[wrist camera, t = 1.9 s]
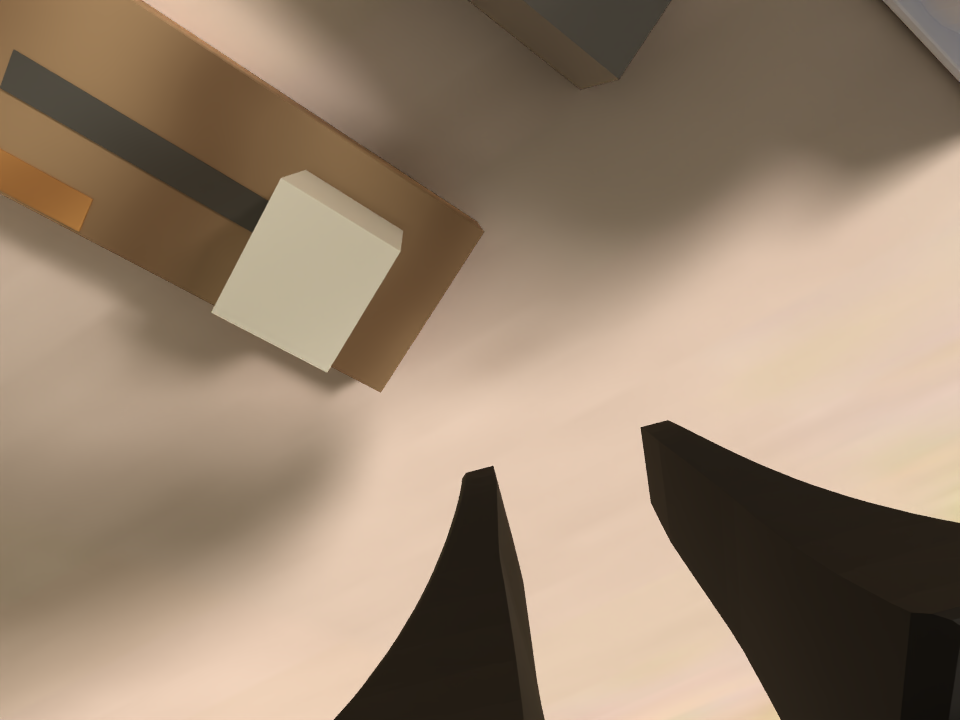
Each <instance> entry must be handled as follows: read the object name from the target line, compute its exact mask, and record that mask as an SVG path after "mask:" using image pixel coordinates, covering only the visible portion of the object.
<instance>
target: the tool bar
mask: <svg viewBox="0 0 960 720" xmlns="http://www.w3.org/2000/svg"><path fill="white" fill-rule="evenodd" d="M468 1H470V2H471V3H472V4H473V5H475V6H476V7H477V8H478V9H480V10H481V11H482V12H483V13H485V14H486V15H487V16H488V17H490V18H491V19H492V20H493V21H495V22H496V23H497V24H499V25H500V26H501V27H502V28H504V29H505V30H506V31H507V32H509V33H510V34H511V35H512V36H514V37H515V38H516V39H517V40H519V41H520V42H521V43H522V44H524V45H525V46H526V47H528V48H529V49H530V50H531V51H533V52H534V53H535V54H536V55H538V56H539V57H540V58H541V59H543V60H544V61H545V62H546V63H548V64H549V65H550V66H551V67H553V68H554V69H555V70H557V71H558V72H559V73H560V74H562V75H563V76H564V77H565V78H567V79H568V80H569V81H570V82H572V83H573V84H574V85H575V86H577V87H578V88H579V89H584V88H588V87H592V86H596V85H600V84H603V83H607V82H611V81H615V80H619V79H620V77H621V76H622V74H623V73H624V71H625V70H626V68H627V67H628V65H629V64H630V62H631V61H632V59H633V58H634V56H635V55H636V53H637V52H638V50H639V49H640V47H641V46H642V44H643V43H644V41H645V40H646V38H647V37H648V35H649V33H650V32H651V30H652V29H653V27H654V26H655V24H656V23H657V21H658V20H659V18H660V17H661V15H662V14H663V12H664V11H665V9H666V8H667V6H668V5H669V3H670V2H671V0H468Z"/></svg>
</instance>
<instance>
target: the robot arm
mask: <svg viewBox="0 0 960 720" xmlns="http://www.w3.org/2000/svg"><path fill="white" fill-rule="evenodd" d="M883 1H884V2H885V3H886V4H887V5H888V6H889V8H890V9H891V10H892V11H893V12H894V13H895V14H896V15H897V16H898V17H899V18H900V19H901V20H902V21H903V22H904V24H905V25H906V26H907V27H908V28H909V29H910V30H911V31H912V32H913V33H914V34H915V35H916V36H917V37H918V38H919V40H920V41H921V42H922V43H923V44H924V45H925V46H926V47H927V48H928V49H929V50H930V51H931V52H932V53H933V54H934V55H935V57H936V58H937V59H938V60H939V61H940V62H941V63H942V64H943V65H944V66H945V67H946V68H947V69H948V70H949V71H950V73H951V74H952V75H953V76H954V77H955V78H956V79H957V80H958V81H959V82H960V0H883ZM641 434H642V441H643V448H644V456H645V463H646V470H647V477H648V485H649V492H650V499H651V504H652V506H653V508H654V510H655V512H656V514H657V516H658V518H659V520H660V522H661V524H662V526H663V528H664V530H665V532H666V534H667V536H668V537H669V539H670V541H671V543H672V545H673V546H674V548H675V549H676V551H677V552H678V554H679V555H680V557H681V558H682V560H683V561H684V562H685V564H686V565H687V567H688V568H689V570H690V571H691V573H692V574H693V576H694V577H695V579H696V580H697V582H698V583H699V585H700V586H701V588H702V589H703V590H704V592H705V593H706V595H707V596H708V598H709V599H710V601H711V602H712V604H713V605H714V607H715V608H716V609H717V611H718V612H719V614H720V615H721V617H722V618H723V620H724V621H725V623H726V624H727V626H728V627H729V629H730V630H731V632H732V633H733V635H734V636H735V638H736V640H737V641H738V643H739V644H740V646H741V648H742V649H743V651H744V653H745V655H746V656H747V658H748V660H749V662H750V664H751V665H752V667H753V669H754V671H755V673H756V675H757V676H758V678H759V680H760V682H761V684H762V685H763V687H764V689H765V691H766V693H767V695H768V696H769V698H770V700H771V702H772V704H773V706H774V708H775V710H776V711H777V713H778V715H779V717H780V719H781V720H960V523H957V522H951V521H946V520H941V519H936V518H931V517H927V516H922V515H917V514H913V513H909V512H905V511H901V510H897V509H893V508H889V507H885V506H881V505H877V504H873V503H869V502H865V501H862V500H858V499H855V498H851V497H848V496H845V495H842V494H839V493H836V492H832V491H829V490H826V489H823V488H820V487H817V486H814V485H811V484H808V483H806V482H803V481H800V480H797V479H795V478H792V477H790V476H787V475H785V474H782V473H780V472H777V471H775V470H772V469H770V468H767V467H765V466H763V465H760V464H758V463H756V462H753V461H751V460H749V459H747V458H745V457H742V456H740V455H738V454H736V453H734V452H732V451H730V450H727V449H725V448H723V447H721V446H719V445H717V444H715V443H713V442H711V441H709V440H707V439H705V438H703V437H701V436H699V435H697V434H695V433H693V432H691V431H689V430H687V429H685V428H683V427H681V426H679V425H677V424H675V423H673V422H671V421H668V420H667V421H663V422H659V423H655V424H652V425H648V426H644V427H641ZM334 720H545V719H544V715H543V710H542V706H541V701H540V695H539V690H538V684H537V678H536V671H535V663H534V656H533V649H532V642H531V634H530V627H529V620H528V613H527V605H526V598H525V591H524V584H523V579H522V575H521V571H520V566H519V562H518V558H517V554H516V550H515V546H514V542H513V538H512V534H511V531H510V527H509V523H508V519H507V516H506V512H505V508H504V504H503V501H502V497H501V493H500V489H499V485H498V482H497V478H496V474H495V470H494V467H493V466H491V467H487V468H483V469H479V470H475V471H472V472H468V473H466V474H465V475H464V477H463V478H462V485H461V491H460V496H459V500H458V504H457V507H456V511H455V515H454V518H453V521H452V524H451V527H450V530H449V533H448V536H447V539H446V542H445V544H444V547H443V549H442V552H441V554H440V557H439V559H438V561H437V564H436V566H435V569H434V571H433V573H432V575H431V578H430V580H429V582H428V584H427V586H426V588H425V590H424V592H423V594H422V596H421V598H420V600H419V601H418V603H417V605H416V607H415V609H414V611H413V612H412V614H411V616H410V617H409V619H408V621H407V622H406V624H405V626H404V627H403V629H402V631H401V632H400V634H399V636H398V637H397V639H396V640H395V642H394V643H393V645H392V646H391V648H390V649H389V651H388V652H387V654H386V655H385V657H384V658H383V659H382V661H381V662H380V663H379V665H378V666H377V667H376V669H375V670H374V671H373V673H372V674H371V675H370V677H369V678H368V680H367V681H366V682H365V684H364V685H363V686H362V688H361V689H360V690H359V691H358V693H357V694H356V695H355V696H354V697H353V699H352V700H351V701H350V702H349V703H348V704H347V706H346V707H345V708H344V709H343V710H342V711H341V712H340V713H339V714H338V716H337V717H336V718H335V719H334Z"/></svg>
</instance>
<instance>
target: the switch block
mask: <svg viewBox="0 0 960 720" xmlns="http://www.w3.org/2000/svg"><path fill="white" fill-rule="evenodd" d="M304 170H307V171H309V172H310V173H312V174H313V175H315V176H317V177H318V178H320V179H321V180H323V181H324V182H326V183H328V184H329V185H331V186H332V187H334V188H336V189H337V190H339V191H340V192H342V193H344V194H345V195H347V196H348V197H350V198H352V199H353V200H355V201H356V202H358V203H360V204H361V205H363V206H364V207H366V208H368V209H369V210H371V211H372V212H374V213H376V214H377V215H379V216H380V217H382V218H384V219H385V220H387V221H388V222H390V223H392V224H393V225H395V226H396V227H398V228H400V229H401V230H403V236H402V244H401V251H400V253H399V255H398V256H397V258H396V260H395V261H394V263H393V265H392V266H391V268H390V270H389V271H388V273H387V275H386V276H385V278H384V280H383V281H382V283H381V284H380V286H379V288H378V289H377V291H376V293H375V294H374V296H373V298H372V299H371V301H370V303H369V304H368V306H367V308H366V309H365V311H364V313H363V314H362V316H361V318H360V319H359V321H358V323H357V324H356V326H355V327H354V329H353V331H352V332H351V334H350V336H349V337H348V339H347V341H346V342H345V344H344V346H343V347H342V349H341V351H340V352H339V354H338V356H337V357H336V359H335V361H334V362H333V364H332V366H331V367H333V368H335V369H337V370H339V371H340V372H342V373H344V374H346V375H348V376H350V377H352V378H354V379H356V380H358V381H360V382H361V383H363V384H365V385H367V386H369V387H371V388H373V389H375V390H377V391H379V392H381V391H382V390H383V388H384V387H385V385H386V384H387V382H388V381H389V379H390V377H391V376H392V374H393V373H394V371H395V370H396V368H397V367H398V365H399V363H400V362H401V360H402V359H403V357H404V356H405V354H406V353H407V351H408V349H409V348H410V346H411V345H412V343H413V342H414V340H415V339H416V337H417V335H418V334H419V332H420V331H421V329H422V328H423V326H424V325H425V323H426V321H427V320H428V318H429V317H430V315H431V314H432V312H433V311H434V309H435V307H436V306H437V304H438V303H439V301H440V300H441V298H442V297H443V295H444V293H445V292H446V290H447V289H448V287H449V286H450V284H451V283H452V281H453V279H454V278H455V276H456V275H457V273H458V272H459V270H460V269H461V267H462V265H463V264H464V262H465V261H466V259H467V258H468V256H469V255H470V253H471V251H472V250H473V248H474V247H475V245H476V244H477V242H478V241H479V239H480V237H481V236H482V234H483V233H484V231H483V229H482V228H481V227H480V225H479V224H478V222H477V221H475V220H474V219H472V218H471V217H469V216H468V215H466V214H465V213H463V212H462V211H460V210H459V209H457V208H455V207H454V206H452V205H451V204H449V203H448V202H446V201H445V200H443V199H442V198H440V197H439V196H437V195H436V194H434V193H433V192H431V191H430V190H428V189H427V188H425V187H424V186H422V185H421V184H419V183H418V182H416V181H415V180H413V179H412V178H410V177H409V176H407V175H406V174H404V173H402V172H401V171H399V170H398V169H396V168H395V167H393V166H392V165H390V164H389V163H387V162H386V161H384V160H383V159H381V158H380V157H378V156H377V155H375V154H374V153H372V152H371V151H369V150H368V149H366V148H365V147H363V146H362V145H360V144H359V143H357V142H356V141H354V140H353V139H351V138H349V137H348V136H346V135H345V134H343V133H342V132H340V131H339V130H337V129H336V128H334V127H333V126H331V125H330V124H328V123H327V122H325V121H324V120H322V119H321V118H319V117H318V116H316V115H315V114H313V113H312V112H310V111H309V110H307V109H306V108H304V107H303V106H301V105H299V104H298V103H296V102H295V101H293V100H292V99H290V98H289V97H287V96H286V95H284V94H283V93H281V92H280V91H278V90H277V89H275V88H274V87H272V86H271V85H269V84H268V83H266V82H265V81H263V80H262V79H260V78H259V77H257V76H256V75H254V74H253V73H251V72H250V71H248V70H246V69H245V68H243V67H242V66H240V65H239V64H237V63H236V62H234V61H233V60H231V59H230V58H228V57H227V56H225V55H224V54H222V53H221V52H219V51H218V50H216V49H215V48H213V47H212V46H210V45H209V44H207V43H206V42H204V41H203V40H201V39H200V38H198V37H197V36H195V35H193V34H192V33H190V32H189V31H187V30H186V29H184V28H183V27H181V26H180V25H178V24H177V23H175V22H174V21H172V20H171V19H169V18H168V17H166V16H165V15H163V14H162V13H160V12H159V11H157V10H156V9H154V8H153V7H151V6H150V5H148V4H147V3H145V2H143V1H142V0H0V194H2V195H4V196H6V197H8V198H10V199H12V200H14V201H15V202H17V203H19V204H21V205H23V206H25V207H27V208H29V209H31V210H33V211H35V212H37V213H38V214H40V215H42V216H44V217H46V218H48V219H50V220H52V221H54V222H56V223H58V224H59V225H61V226H63V227H65V228H67V229H69V230H71V231H73V232H75V233H77V234H79V235H80V236H82V237H84V238H86V239H88V240H90V241H92V242H94V243H96V244H98V245H100V246H101V247H103V248H105V249H107V250H109V251H111V252H113V253H115V254H117V255H119V256H121V257H123V258H124V259H126V260H128V261H130V262H132V263H134V264H136V265H138V266H140V267H142V268H144V269H145V270H147V271H149V272H151V273H153V274H155V275H157V276H159V277H161V278H163V279H165V280H166V281H168V282H170V283H172V284H174V285H176V286H178V287H180V288H182V289H184V290H186V291H188V292H189V293H191V294H193V295H195V296H197V297H199V298H201V299H203V300H205V301H207V302H209V303H210V304H212V305H214V306H215V304H216V302H217V300H218V298H219V296H220V295H221V293H222V291H223V289H224V287H225V285H226V283H227V281H228V279H229V277H230V275H231V273H232V271H233V269H234V268H235V266H236V264H237V262H238V260H239V258H240V256H241V254H242V252H243V250H244V248H245V246H246V244H247V242H248V241H249V239H250V237H251V235H252V233H253V231H254V229H255V227H256V225H257V223H258V221H259V219H260V217H261V215H262V213H263V212H264V210H265V208H266V206H267V204H268V202H269V200H270V198H271V196H272V194H273V192H274V190H275V188H276V186H277V185H278V183H279V181H280V179H281V178H282V177H285V176H288V175H291V174H295V173H298V172H301V171H304Z"/></svg>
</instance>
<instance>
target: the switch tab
mask: <svg viewBox="0 0 960 720" xmlns="http://www.w3.org/2000/svg"><path fill="white" fill-rule="evenodd" d="M402 236H403V230H401V229H400V228H398V227H396V226H395V225H393V224H392V223H390V222H388V221H387V220H385V219H384V218H382V217H380V216H379V215H377V214H376V213H374V212H372V211H371V210H369V209H368V208H366V207H364V206H363V205H361V204H360V203H358V202H356V201H355V200H353V199H352V198H350V197H348V196H347V195H345V194H344V193H342V192H340V191H339V190H337V189H336V188H334V187H332V186H331V185H329V184H328V183H326V182H324V181H323V180H321V179H320V178H318V177H317V176H315V175H313V174H312V173H310V172H309V171H307V170H304V171H301V172H298V173H295V174H291V175H288V176H285V177H282V178H281V179H280V181H279V183H278V185H277V186H276V188H275V190H274V192H273V194H272V196H271V198H270V200H269V202H268V204H267V206H266V208H265V210H264V212H263V213H262V215H261V217H260V219H259V221H258V223H257V225H256V227H255V229H254V231H253V233H252V235H251V237H250V239H249V241H248V242H247V244H246V246H245V248H244V250H243V252H242V254H241V256H240V258H239V260H238V262H237V264H236V266H235V268H234V269H233V271H232V273H231V275H230V277H229V279H228V281H227V283H226V285H225V287H224V289H223V291H222V293H221V295H220V296H219V298H218V300H217V302H216V304H215V306H214V308H213V310H212V312H211V313H213V314H214V315H216V316H218V317H220V318H222V319H224V320H226V321H228V322H230V323H232V324H234V325H236V326H238V327H240V328H241V329H243V330H245V331H247V332H249V333H251V334H253V335H255V336H257V337H259V338H261V339H263V340H265V341H267V342H268V343H270V344H272V345H274V346H276V347H278V348H280V349H282V350H284V351H286V352H288V353H290V354H292V355H294V356H295V357H297V358H299V359H301V360H303V361H305V362H307V363H309V364H311V365H313V366H315V367H317V368H319V369H321V370H322V371H324V372H326V373H327V372H328V371H329V369H330V367H331V366H332V364H333V362H334V361H335V359H336V357H337V356H338V354H339V352H340V351H341V349H342V347H343V346H344V344H345V342H346V341H347V339H348V337H349V336H350V334H351V332H352V331H353V329H354V327H355V326H356V324H357V323H358V321H359V319H360V318H361V316H362V314H363V313H364V311H365V309H366V308H367V306H368V304H369V303H370V301H371V299H372V298H373V296H374V294H375V293H376V291H377V289H378V288H379V286H380V284H381V283H382V281H383V280H384V278H385V276H386V275H387V273H388V271H389V270H390V268H391V266H392V265H393V263H394V261H395V260H396V258H397V256H398V255H399V253H400V251H401V244H402Z"/></svg>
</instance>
